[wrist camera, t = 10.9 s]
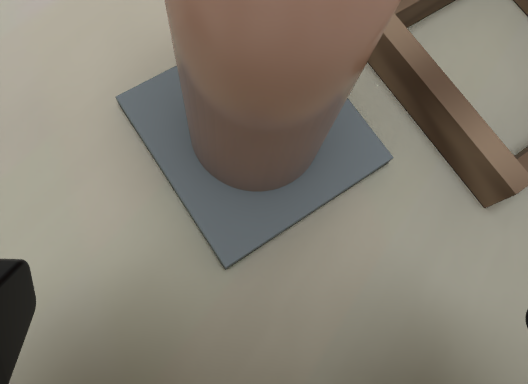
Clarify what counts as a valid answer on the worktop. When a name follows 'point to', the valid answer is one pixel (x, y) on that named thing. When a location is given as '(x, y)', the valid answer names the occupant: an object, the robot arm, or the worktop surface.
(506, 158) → the holder
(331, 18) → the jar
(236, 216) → the mat
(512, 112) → the worktop surface
